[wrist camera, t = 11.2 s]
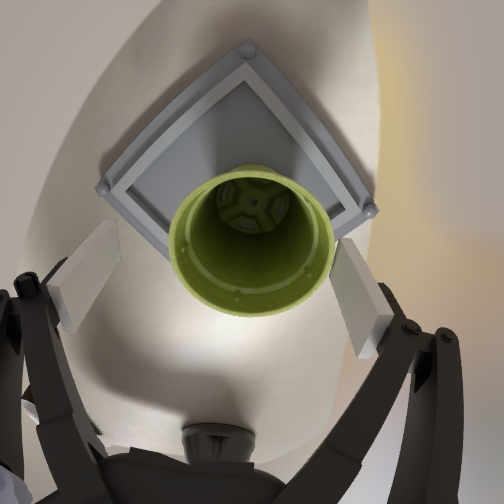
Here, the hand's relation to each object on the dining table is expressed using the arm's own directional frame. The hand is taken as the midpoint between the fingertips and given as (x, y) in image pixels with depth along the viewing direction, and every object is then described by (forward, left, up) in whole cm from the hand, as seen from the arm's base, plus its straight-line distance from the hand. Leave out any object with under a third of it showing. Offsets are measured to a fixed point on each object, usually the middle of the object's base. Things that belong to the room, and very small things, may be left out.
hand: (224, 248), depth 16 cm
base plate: (0, 0, -10) cm, 10 cm away
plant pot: (-1, -1, -8) cm, 8 cm away
